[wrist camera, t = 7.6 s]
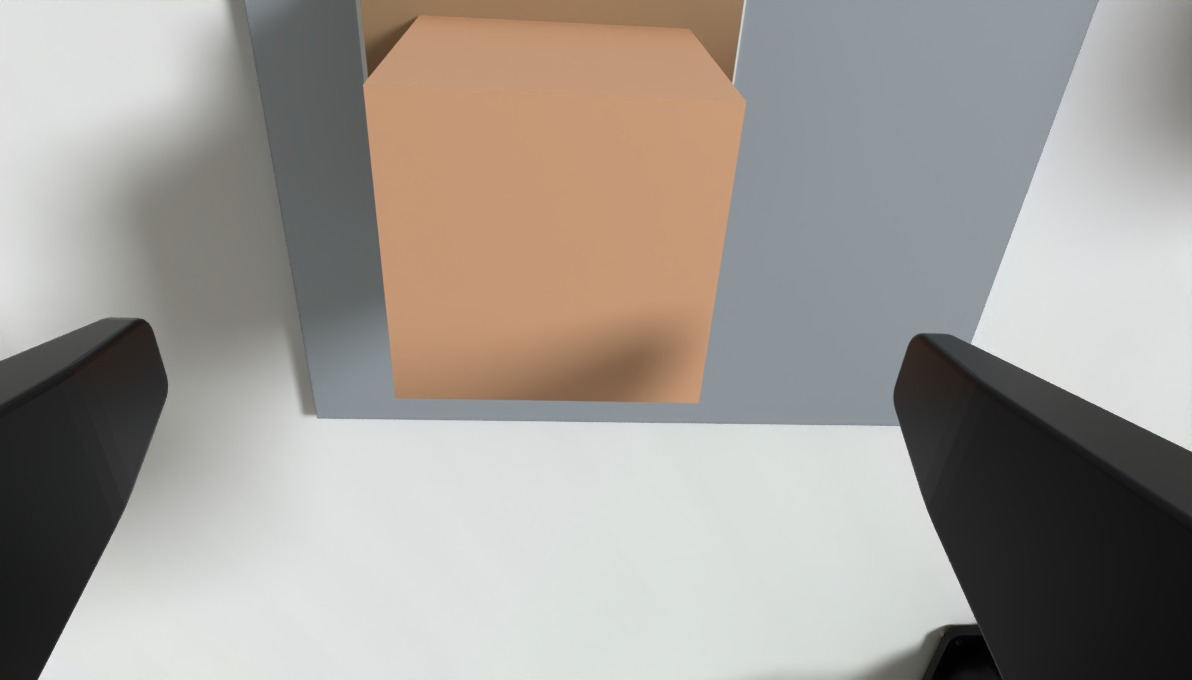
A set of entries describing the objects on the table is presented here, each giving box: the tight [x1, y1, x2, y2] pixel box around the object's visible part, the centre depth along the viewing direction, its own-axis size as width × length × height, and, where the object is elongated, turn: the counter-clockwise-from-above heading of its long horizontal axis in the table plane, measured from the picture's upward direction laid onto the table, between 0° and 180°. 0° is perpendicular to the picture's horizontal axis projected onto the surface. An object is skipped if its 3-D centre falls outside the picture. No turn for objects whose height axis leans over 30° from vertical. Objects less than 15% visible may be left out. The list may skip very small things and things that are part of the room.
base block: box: [360, 0, 744, 82], centre depth 17 cm, size 7×7×4 cm
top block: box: [363, 15, 746, 403], centre depth 13 cm, size 5×5×5 cm
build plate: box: [245, 0, 1098, 426], centre depth 21 cm, size 16×20×1 cm
